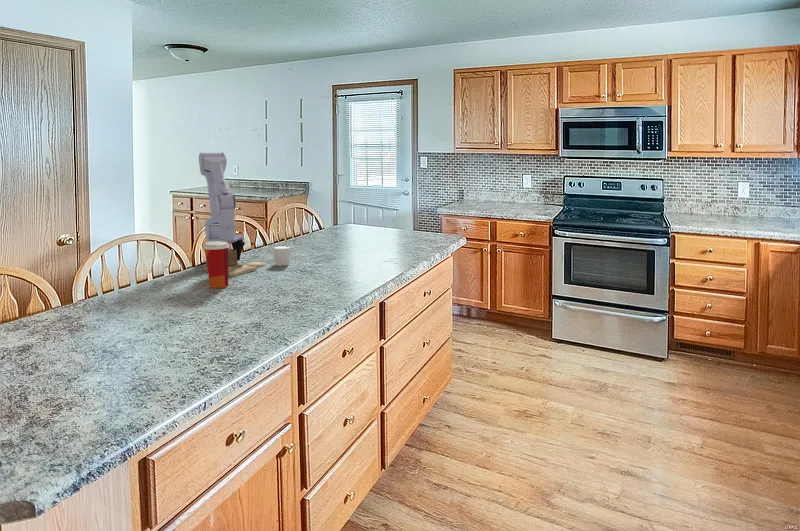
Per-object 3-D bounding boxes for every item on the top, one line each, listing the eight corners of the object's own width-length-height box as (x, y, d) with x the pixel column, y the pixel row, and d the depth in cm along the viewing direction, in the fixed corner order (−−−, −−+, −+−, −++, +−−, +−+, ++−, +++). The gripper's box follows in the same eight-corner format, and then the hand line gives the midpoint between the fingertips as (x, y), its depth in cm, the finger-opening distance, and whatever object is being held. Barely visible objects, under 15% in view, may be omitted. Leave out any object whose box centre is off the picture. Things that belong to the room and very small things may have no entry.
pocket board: (203, 271, 217) (202, 265, 216) (227, 265, 227) (226, 259, 227) (233, 276, 209) (232, 269, 208) (256, 270, 219) (256, 264, 219)
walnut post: (222, 271, 217) (221, 250, 216) (230, 269, 221) (229, 248, 219) (229, 272, 215) (228, 251, 214) (237, 270, 219) (236, 249, 217)
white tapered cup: (286, 266, 226) (285, 249, 224) (270, 265, 227) (269, 248, 225) (293, 262, 232) (292, 246, 231) (277, 262, 233) (276, 245, 232)
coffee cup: (221, 282, 200) (218, 240, 197) (236, 285, 196) (234, 242, 192) (201, 287, 193) (197, 243, 190) (216, 290, 189) (213, 246, 186)
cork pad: (240, 265, 226) (240, 264, 226) (254, 262, 233) (254, 261, 233) (254, 268, 222) (254, 267, 222) (269, 264, 229) (269, 263, 229)
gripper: (219, 229, 206) (222, 266, 209) (249, 224, 218) (251, 259, 221) (206, 228, 210) (208, 264, 213) (236, 223, 222) (238, 257, 225)
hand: (229, 261), depth 217 cm, fingers open, 7 cm apart
